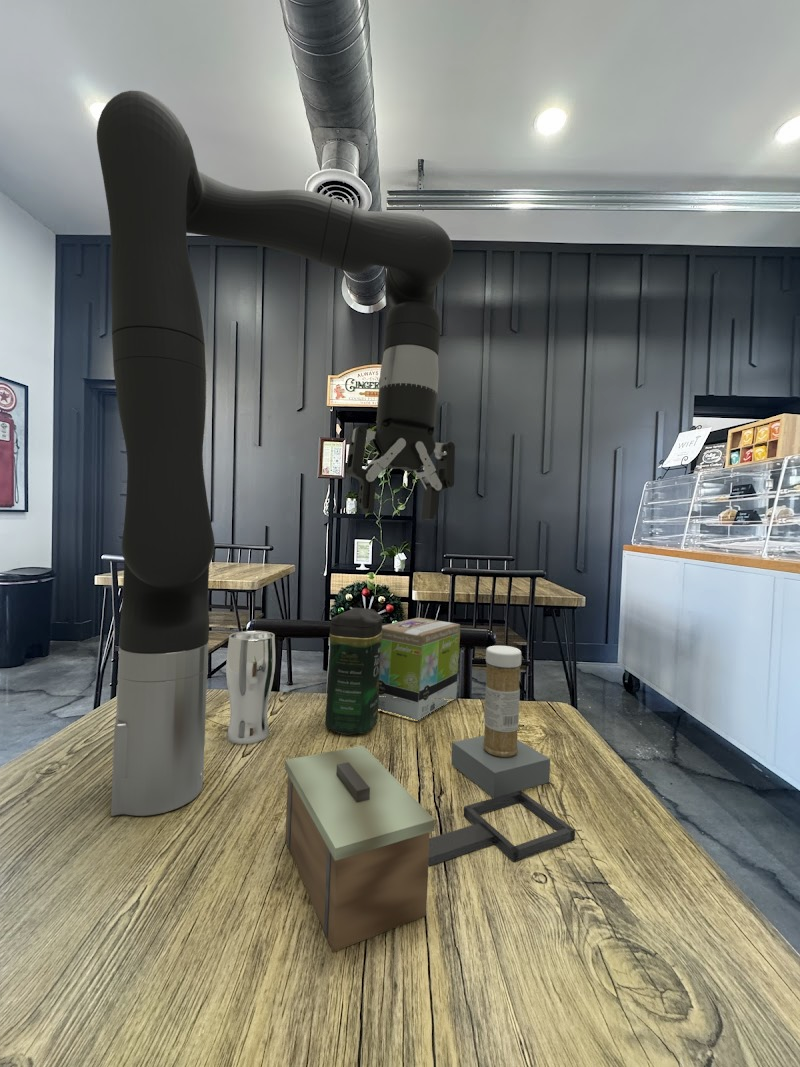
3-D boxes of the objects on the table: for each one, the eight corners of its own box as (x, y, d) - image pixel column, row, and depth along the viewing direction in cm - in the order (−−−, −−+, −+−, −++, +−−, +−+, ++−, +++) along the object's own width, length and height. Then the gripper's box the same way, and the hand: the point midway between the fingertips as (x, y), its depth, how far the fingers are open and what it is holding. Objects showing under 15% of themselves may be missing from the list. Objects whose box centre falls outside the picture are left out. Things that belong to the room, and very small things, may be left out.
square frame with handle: (446, 887, 42) (446, 875, 42) (402, 833, 49) (402, 823, 49) (574, 839, 49) (575, 829, 49) (520, 798, 56) (520, 790, 56)
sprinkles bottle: (509, 742, 65) (513, 644, 65) (523, 758, 60) (527, 652, 60) (477, 743, 64) (481, 644, 64) (489, 759, 60) (493, 652, 60)
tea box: (419, 724, 77) (423, 634, 77) (369, 710, 83) (372, 626, 83) (458, 699, 90) (461, 621, 90) (412, 688, 95) (415, 615, 95)
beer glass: (226, 749, 66) (231, 641, 66) (220, 730, 72) (224, 631, 72) (276, 741, 69) (281, 638, 69) (266, 723, 75) (270, 629, 75)
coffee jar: (369, 739, 71) (374, 615, 71) (318, 733, 72) (323, 612, 72) (383, 715, 80) (387, 606, 80) (338, 710, 82) (343, 603, 82)
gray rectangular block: (493, 798, 56) (494, 772, 56) (451, 764, 64) (452, 742, 64) (549, 782, 61) (550, 758, 61) (503, 752, 68) (503, 731, 68)
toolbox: (331, 956, 34) (336, 834, 34) (281, 838, 47) (285, 750, 47) (431, 916, 38) (435, 807, 38) (360, 818, 51) (364, 736, 51)
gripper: (367, 369, 54) (356, 510, 54) (471, 394, 60) (461, 521, 60) (346, 386, 61) (336, 512, 61) (441, 407, 67) (432, 521, 67)
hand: (398, 516), depth 60 cm, fingers open, 8 cm apart
